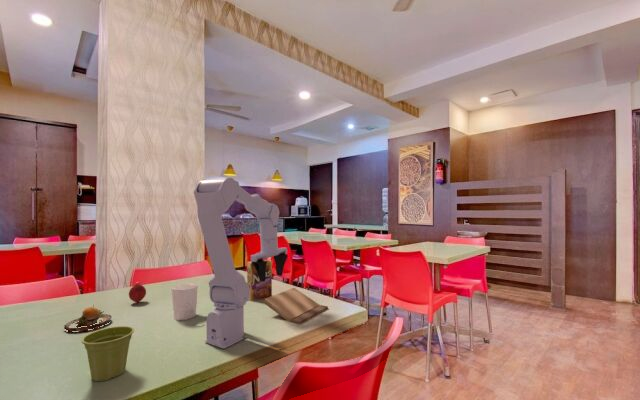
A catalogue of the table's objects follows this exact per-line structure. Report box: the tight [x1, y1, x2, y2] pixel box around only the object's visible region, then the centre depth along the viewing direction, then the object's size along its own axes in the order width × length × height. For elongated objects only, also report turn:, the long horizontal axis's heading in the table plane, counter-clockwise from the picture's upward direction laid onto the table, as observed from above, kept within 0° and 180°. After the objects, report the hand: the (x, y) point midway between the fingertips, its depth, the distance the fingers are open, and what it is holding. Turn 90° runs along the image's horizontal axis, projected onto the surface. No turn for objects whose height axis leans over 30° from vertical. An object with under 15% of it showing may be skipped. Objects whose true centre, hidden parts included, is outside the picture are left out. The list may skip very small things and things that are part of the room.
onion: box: [128, 281, 147, 303], centre depth 118 cm, size 6×6×8 cm
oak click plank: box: [263, 287, 320, 323], centre depth 102 cm, size 16×12×2 cm
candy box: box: [246, 258, 273, 302], centre depth 118 cm, size 9×4×15 cm, turn 123°
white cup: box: [171, 283, 198, 321], centre depth 101 cm, size 8×8×10 cm
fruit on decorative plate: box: [63, 305, 112, 332], centre depth 95 cm, size 12×12×8 cm
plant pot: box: [81, 325, 135, 382], centre depth 66 cm, size 9×9×9 cm
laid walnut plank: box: [291, 304, 329, 325], centre depth 98 cm, size 16×3×2 cm, turn 147°
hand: (271, 278), depth 104 cm, fingers open, 7 cm apart
